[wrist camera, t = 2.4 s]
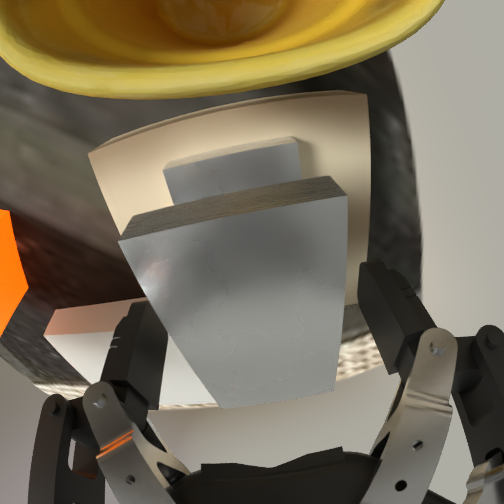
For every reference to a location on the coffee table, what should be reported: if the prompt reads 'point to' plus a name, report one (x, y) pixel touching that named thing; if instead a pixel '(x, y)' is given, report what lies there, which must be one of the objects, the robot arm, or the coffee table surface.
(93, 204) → the coffee table surface
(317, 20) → the plant pot
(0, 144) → the coffee table surface
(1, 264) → the orange juice
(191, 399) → the stand
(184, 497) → the robot arm
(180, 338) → the block
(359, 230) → the stand
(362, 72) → the coffee table surface
